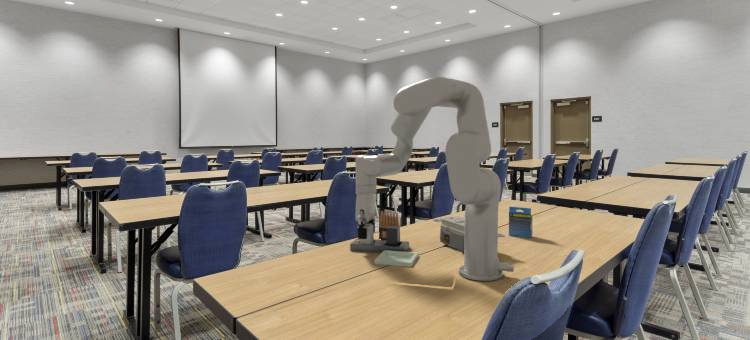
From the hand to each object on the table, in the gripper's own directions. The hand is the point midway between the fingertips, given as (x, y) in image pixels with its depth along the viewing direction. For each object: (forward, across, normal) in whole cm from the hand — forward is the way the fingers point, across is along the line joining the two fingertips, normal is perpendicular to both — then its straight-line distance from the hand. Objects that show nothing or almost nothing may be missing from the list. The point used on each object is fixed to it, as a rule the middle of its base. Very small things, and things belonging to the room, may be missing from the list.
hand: (366, 235), depth 149 cm
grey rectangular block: (+5, 0, 0) cm, 5 cm away
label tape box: (+6, -36, +55) cm, 66 cm away
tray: (+5, +11, +14) cm, 19 cm away
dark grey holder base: (+5, -4, +5) cm, 8 cm away
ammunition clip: (+6, -14, +5) cm, 16 cm away
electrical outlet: (+6, -11, +35) cm, 37 cm away
